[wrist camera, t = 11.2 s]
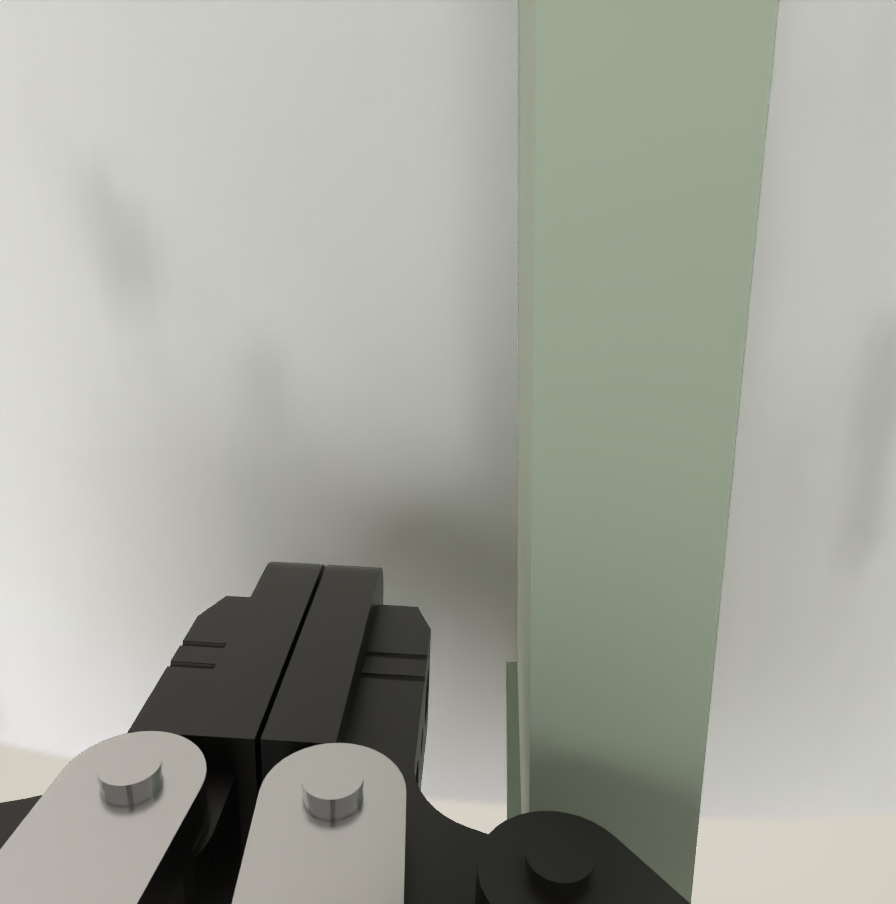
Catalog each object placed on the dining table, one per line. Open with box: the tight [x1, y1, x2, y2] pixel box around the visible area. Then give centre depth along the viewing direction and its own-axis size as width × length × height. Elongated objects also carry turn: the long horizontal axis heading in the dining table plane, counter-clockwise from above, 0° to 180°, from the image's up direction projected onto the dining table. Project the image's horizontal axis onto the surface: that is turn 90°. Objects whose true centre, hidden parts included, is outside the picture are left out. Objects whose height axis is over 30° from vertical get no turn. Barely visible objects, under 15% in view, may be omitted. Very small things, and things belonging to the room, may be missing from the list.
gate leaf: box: [506, 0, 779, 904], centre depth 9 cm, size 21×2×8 cm, turn 2°
